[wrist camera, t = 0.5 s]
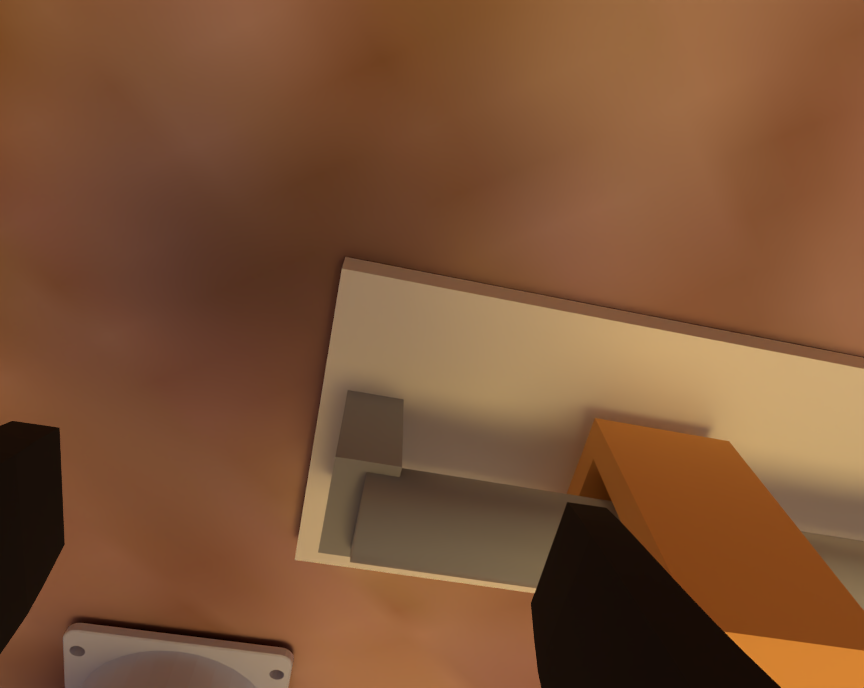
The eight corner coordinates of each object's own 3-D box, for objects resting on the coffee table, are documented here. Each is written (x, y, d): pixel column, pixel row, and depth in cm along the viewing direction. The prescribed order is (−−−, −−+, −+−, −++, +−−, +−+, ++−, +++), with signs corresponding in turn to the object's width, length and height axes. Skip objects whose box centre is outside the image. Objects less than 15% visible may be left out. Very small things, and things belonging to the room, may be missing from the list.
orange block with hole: (729, 441, 18) (899, 655, 12) (667, 567, 20) (785, 809, 14) (594, 417, 18) (696, 628, 11) (545, 549, 20) (609, 791, 13)
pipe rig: (1185, 420, 20) (1434, 541, 15) (1004, 639, 25) (1155, 790, 20) (345, 256, 17) (318, 342, 12) (299, 537, 21) (265, 687, 16)
